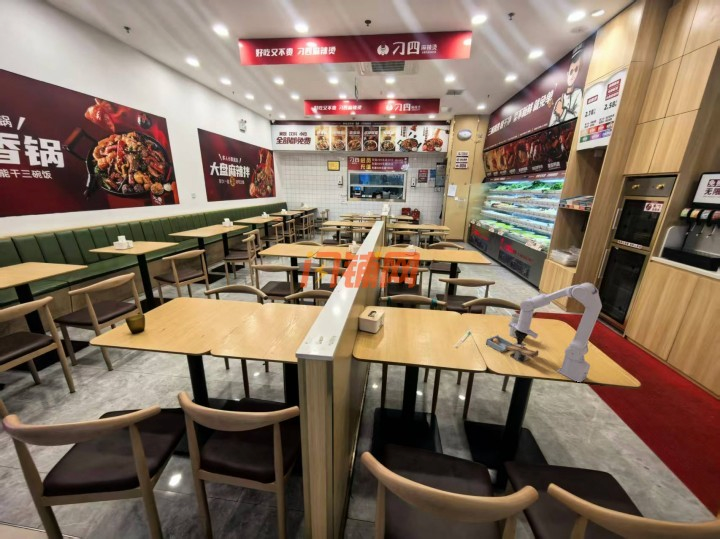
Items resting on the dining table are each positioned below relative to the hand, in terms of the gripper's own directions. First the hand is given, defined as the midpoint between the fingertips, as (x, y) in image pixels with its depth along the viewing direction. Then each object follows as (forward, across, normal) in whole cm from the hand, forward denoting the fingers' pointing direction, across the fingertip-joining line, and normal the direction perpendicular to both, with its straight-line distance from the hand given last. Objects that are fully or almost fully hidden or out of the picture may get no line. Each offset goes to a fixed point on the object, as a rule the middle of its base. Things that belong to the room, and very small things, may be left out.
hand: (519, 343), depth 150 cm
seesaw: (0, -5, +4) cm, 6 cm away
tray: (+3, +7, +7) cm, 10 cm away
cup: (+4, +10, -13) cm, 17 cm away
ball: (+2, +9, +7) cm, 12 cm away
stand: (+3, -5, +7) cm, 9 cm away
